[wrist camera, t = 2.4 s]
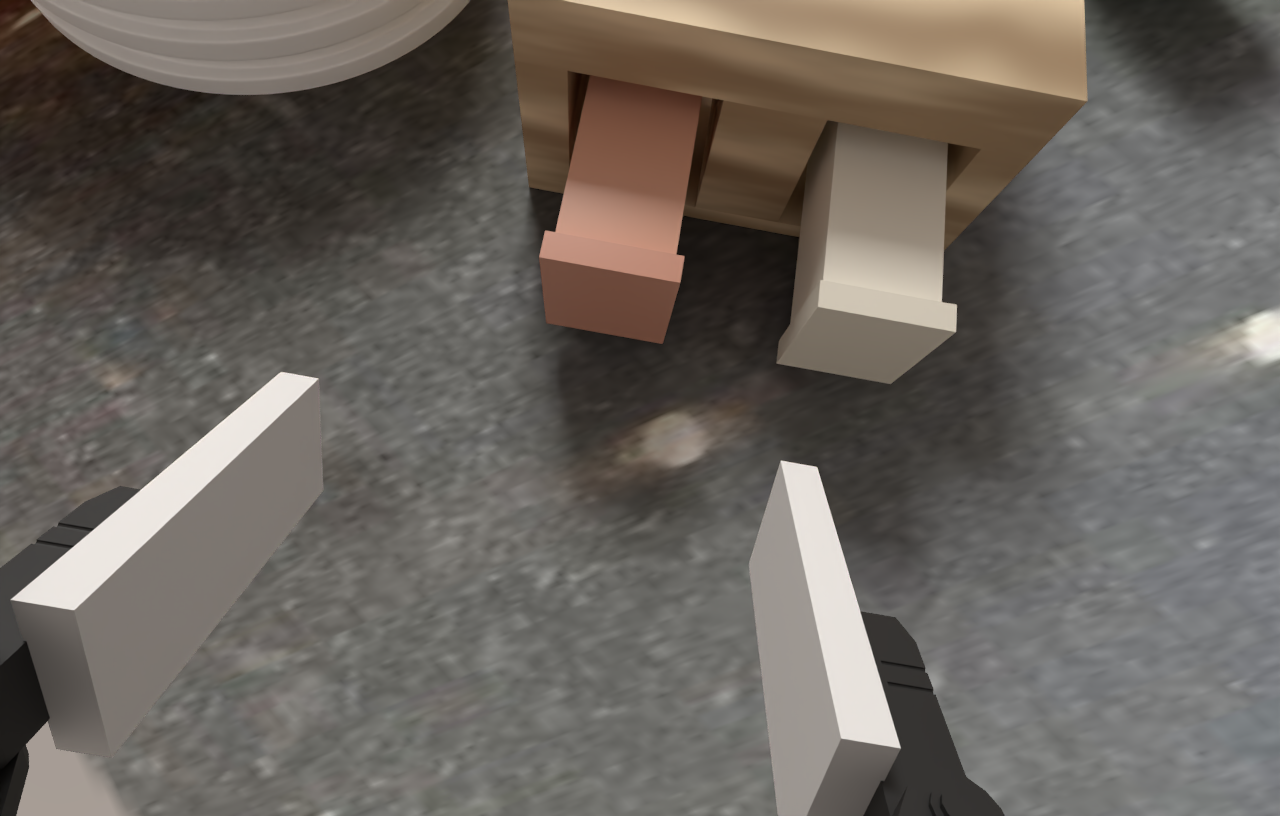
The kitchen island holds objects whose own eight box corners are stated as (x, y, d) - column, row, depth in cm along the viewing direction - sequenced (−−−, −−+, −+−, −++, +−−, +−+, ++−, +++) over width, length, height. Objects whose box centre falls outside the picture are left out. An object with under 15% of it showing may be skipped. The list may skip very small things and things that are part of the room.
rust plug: (662, 344, 35) (680, 282, 29) (546, 323, 35) (539, 257, 28) (709, 56, 40) (732, -48, 34) (608, 36, 40) (613, -72, 34)
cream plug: (890, 384, 35) (956, 332, 29) (776, 363, 35) (817, 306, 29) (907, 93, 40) (966, -3, 34) (808, 74, 40) (849, -26, 34)
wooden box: (933, 262, 39) (1087, 101, 27) (529, 187, 39) (506, -11, 27) (943, 28, 44) (1078, -195, 32) (584, -42, 43) (585, -296, 32)
